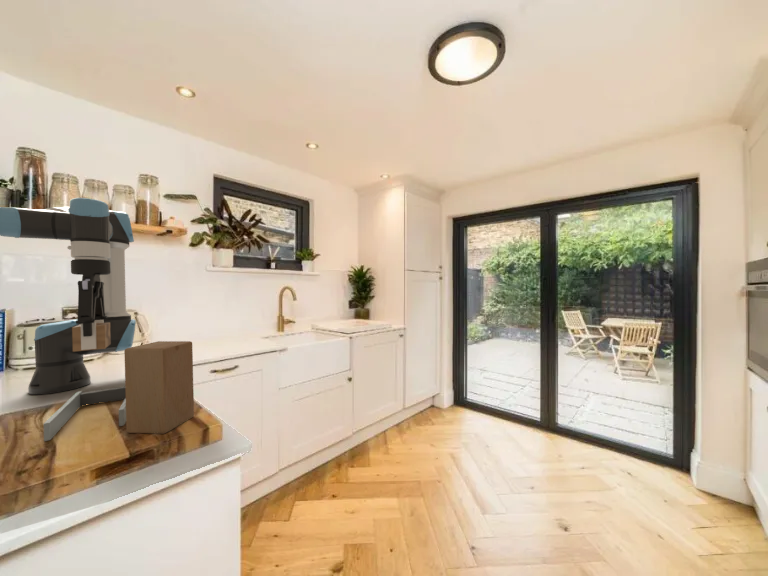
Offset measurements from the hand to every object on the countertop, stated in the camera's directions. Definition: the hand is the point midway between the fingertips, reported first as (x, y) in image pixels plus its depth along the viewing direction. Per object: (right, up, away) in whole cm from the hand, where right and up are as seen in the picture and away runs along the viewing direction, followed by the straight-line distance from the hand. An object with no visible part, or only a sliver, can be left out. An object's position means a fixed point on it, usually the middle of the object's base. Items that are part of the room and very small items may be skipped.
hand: (93, 346), depth 81 cm
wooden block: (+21, -19, -4) cm, 28 cm away
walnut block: (0, 0, 0) cm, 0 cm away
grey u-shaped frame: (-2, -19, +3) cm, 20 cm away
